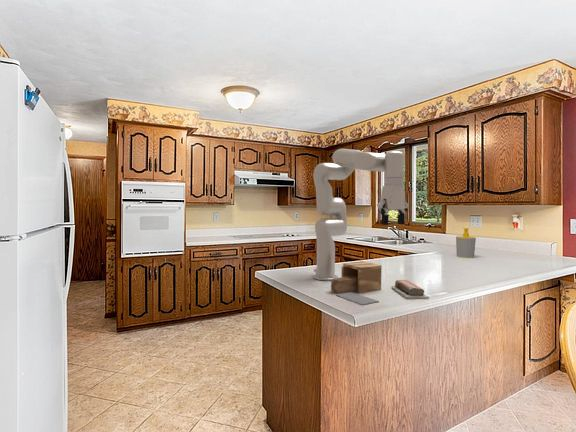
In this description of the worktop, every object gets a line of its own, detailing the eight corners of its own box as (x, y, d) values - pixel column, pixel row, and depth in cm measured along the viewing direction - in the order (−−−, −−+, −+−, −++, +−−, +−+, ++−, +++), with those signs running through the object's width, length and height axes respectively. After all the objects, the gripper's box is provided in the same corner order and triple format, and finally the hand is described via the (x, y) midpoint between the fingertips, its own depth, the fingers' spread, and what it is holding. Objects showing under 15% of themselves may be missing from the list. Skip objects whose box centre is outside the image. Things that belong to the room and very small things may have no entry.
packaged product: (390, 279, 162) (411, 278, 163) (390, 289, 162) (411, 289, 163) (406, 288, 144) (429, 288, 145) (406, 300, 144) (429, 299, 145)
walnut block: (331, 292, 156) (331, 278, 155) (354, 288, 163) (354, 275, 163) (338, 294, 151) (338, 281, 151) (362, 290, 159) (362, 277, 158)
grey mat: (336, 295, 149) (336, 294, 149) (351, 292, 154) (351, 292, 154) (362, 305, 135) (362, 304, 135) (378, 302, 140) (378, 301, 140)
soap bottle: (477, 256, 257) (478, 228, 256) (472, 258, 248) (473, 229, 247) (458, 254, 266) (459, 227, 265) (452, 256, 257) (453, 228, 256)
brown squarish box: (341, 287, 164) (341, 263, 163) (362, 283, 170) (362, 261, 170) (359, 293, 153) (360, 268, 152) (381, 289, 160) (381, 265, 159)
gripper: (400, 183, 149) (400, 223, 150) (371, 182, 140) (371, 224, 141) (415, 182, 143) (414, 224, 144) (386, 181, 134) (385, 225, 135)
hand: (393, 224), depth 142 cm, fingers open, 9 cm apart
